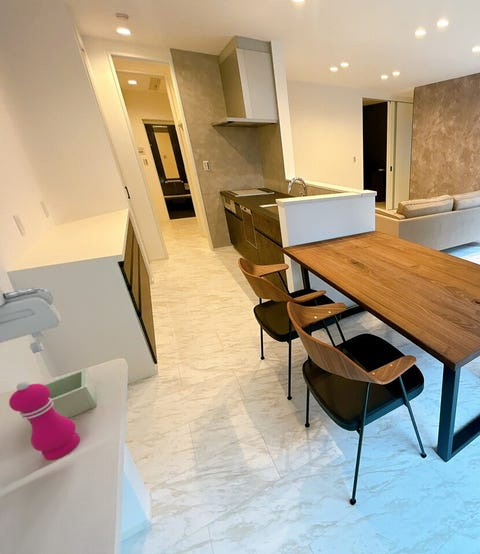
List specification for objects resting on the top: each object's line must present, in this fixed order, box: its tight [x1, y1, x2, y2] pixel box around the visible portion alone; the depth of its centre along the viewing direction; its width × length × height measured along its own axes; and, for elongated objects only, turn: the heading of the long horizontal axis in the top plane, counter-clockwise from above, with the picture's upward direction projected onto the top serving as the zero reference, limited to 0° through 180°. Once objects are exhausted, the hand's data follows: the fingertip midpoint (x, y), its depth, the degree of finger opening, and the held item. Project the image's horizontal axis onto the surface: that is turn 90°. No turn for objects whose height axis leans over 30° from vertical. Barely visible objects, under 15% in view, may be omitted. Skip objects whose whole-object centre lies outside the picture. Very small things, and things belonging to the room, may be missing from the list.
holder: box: [42, 368, 98, 419], centre depth 83 cm, size 11×11×7 cm
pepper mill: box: [8, 381, 81, 461], centre depth 68 cm, size 7×7×20 cm
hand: (6, 360), depth 62 cm, fingers open, 8 cm apart
